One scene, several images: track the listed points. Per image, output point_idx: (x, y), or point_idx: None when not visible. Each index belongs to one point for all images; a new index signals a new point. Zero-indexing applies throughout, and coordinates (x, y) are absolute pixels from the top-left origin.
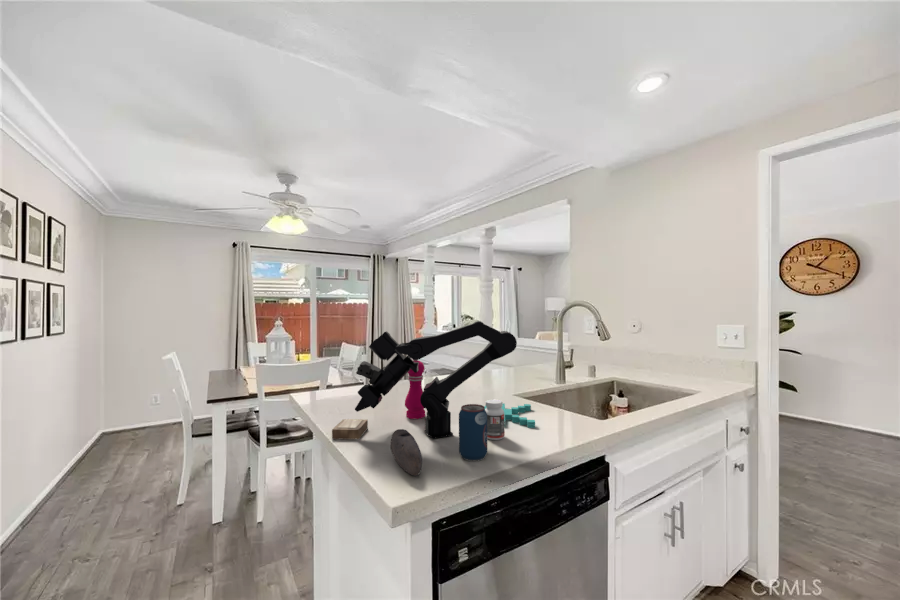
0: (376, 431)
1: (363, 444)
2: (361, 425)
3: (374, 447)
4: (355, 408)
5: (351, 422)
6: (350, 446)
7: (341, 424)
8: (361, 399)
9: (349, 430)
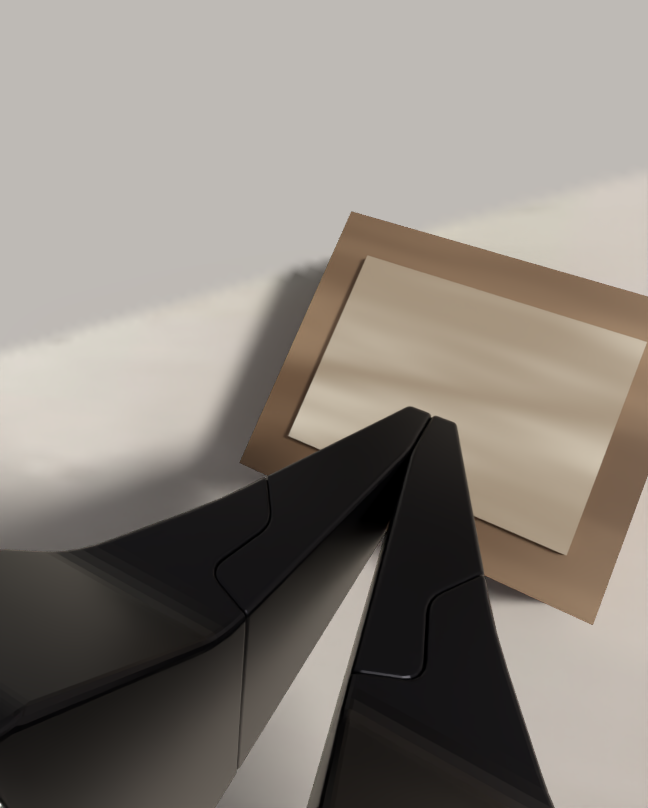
0: None
1: (136, 493)
2: None
3: None
4: (394, 415)
5: (498, 405)
6: (138, 391)
7: (460, 294)
8: (217, 509)
9: (280, 375)
